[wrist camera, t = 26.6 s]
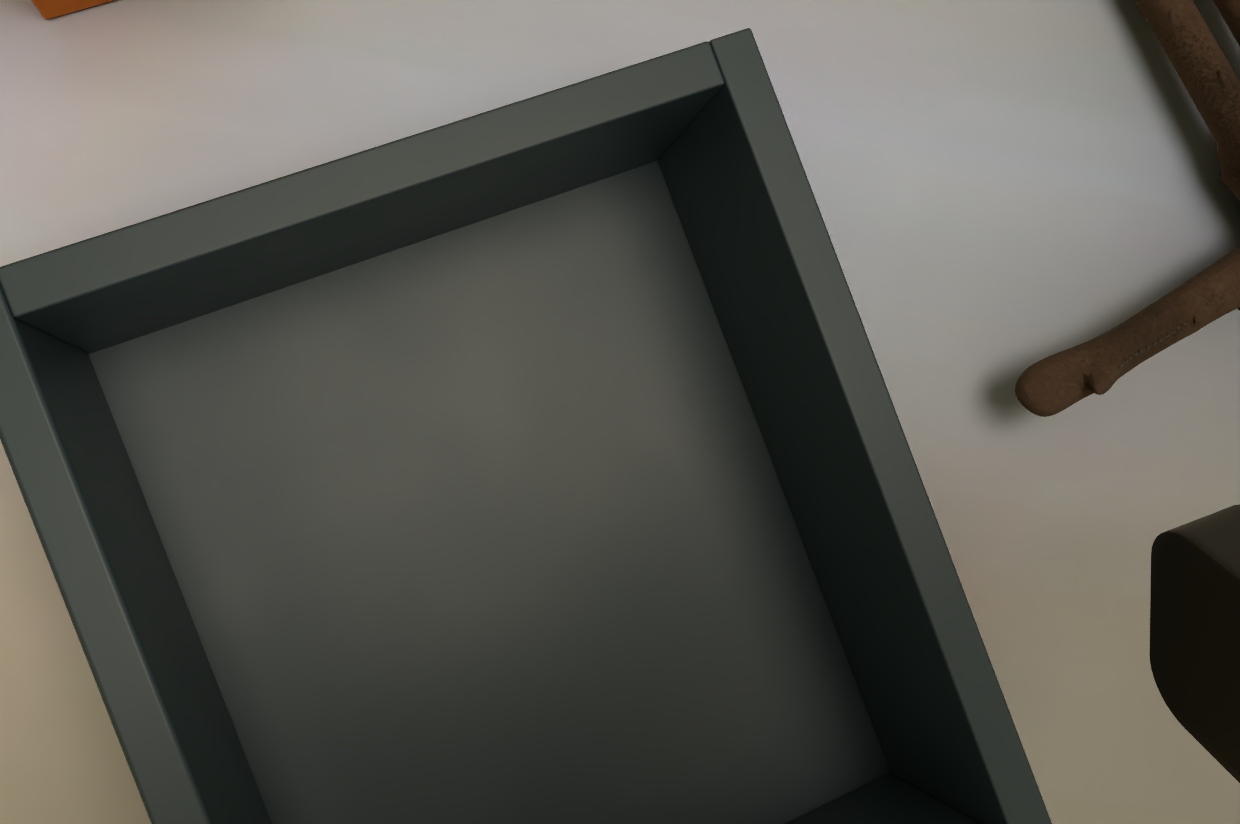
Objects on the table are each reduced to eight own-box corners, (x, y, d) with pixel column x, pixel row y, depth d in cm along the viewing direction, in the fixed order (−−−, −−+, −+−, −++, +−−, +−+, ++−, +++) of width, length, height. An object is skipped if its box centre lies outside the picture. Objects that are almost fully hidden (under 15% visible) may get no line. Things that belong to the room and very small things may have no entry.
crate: (672, 120, 26) (751, 26, 21) (926, 786, 26) (1067, 862, 21) (37, 332, 23) (-62, 285, 18) (330, 1079, 23) (319, 1254, 18)
